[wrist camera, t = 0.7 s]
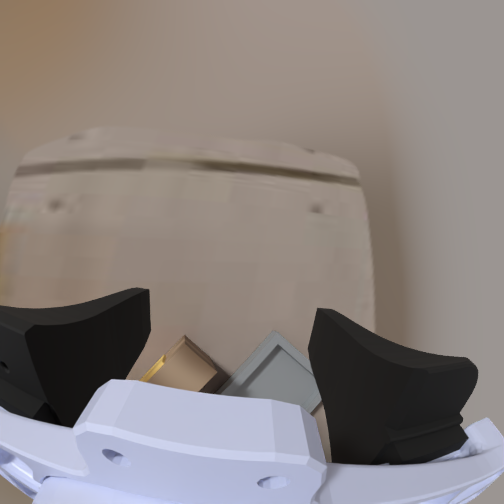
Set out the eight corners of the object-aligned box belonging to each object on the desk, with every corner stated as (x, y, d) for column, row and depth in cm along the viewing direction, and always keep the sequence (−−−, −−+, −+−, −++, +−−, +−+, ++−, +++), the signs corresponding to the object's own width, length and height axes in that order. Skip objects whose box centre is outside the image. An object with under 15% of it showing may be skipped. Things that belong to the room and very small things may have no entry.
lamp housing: (150, 424, 27) (144, 451, 20) (119, 399, 27) (105, 421, 20) (213, 360, 30) (222, 376, 24) (182, 332, 30) (182, 341, 23)
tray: (275, 439, 30) (279, 445, 28) (212, 395, 30) (214, 400, 28) (328, 380, 33) (335, 383, 32) (272, 330, 33) (277, 332, 31)
